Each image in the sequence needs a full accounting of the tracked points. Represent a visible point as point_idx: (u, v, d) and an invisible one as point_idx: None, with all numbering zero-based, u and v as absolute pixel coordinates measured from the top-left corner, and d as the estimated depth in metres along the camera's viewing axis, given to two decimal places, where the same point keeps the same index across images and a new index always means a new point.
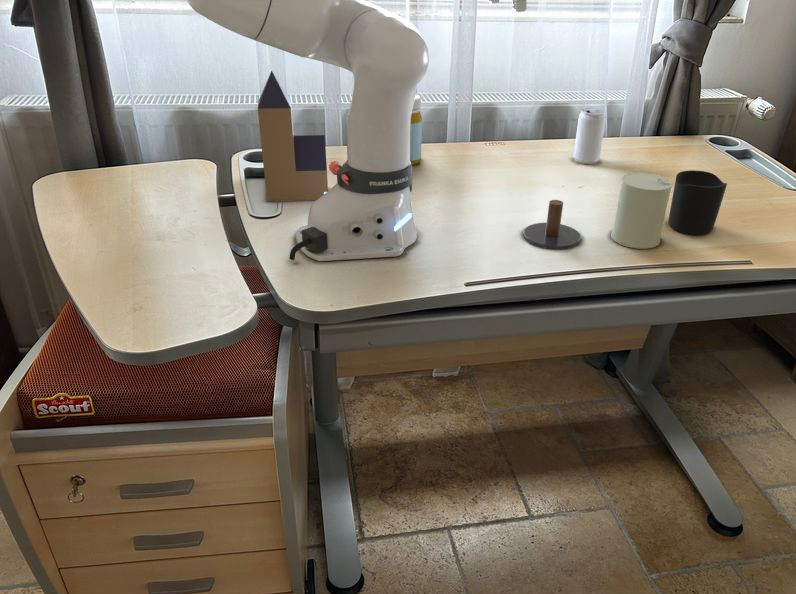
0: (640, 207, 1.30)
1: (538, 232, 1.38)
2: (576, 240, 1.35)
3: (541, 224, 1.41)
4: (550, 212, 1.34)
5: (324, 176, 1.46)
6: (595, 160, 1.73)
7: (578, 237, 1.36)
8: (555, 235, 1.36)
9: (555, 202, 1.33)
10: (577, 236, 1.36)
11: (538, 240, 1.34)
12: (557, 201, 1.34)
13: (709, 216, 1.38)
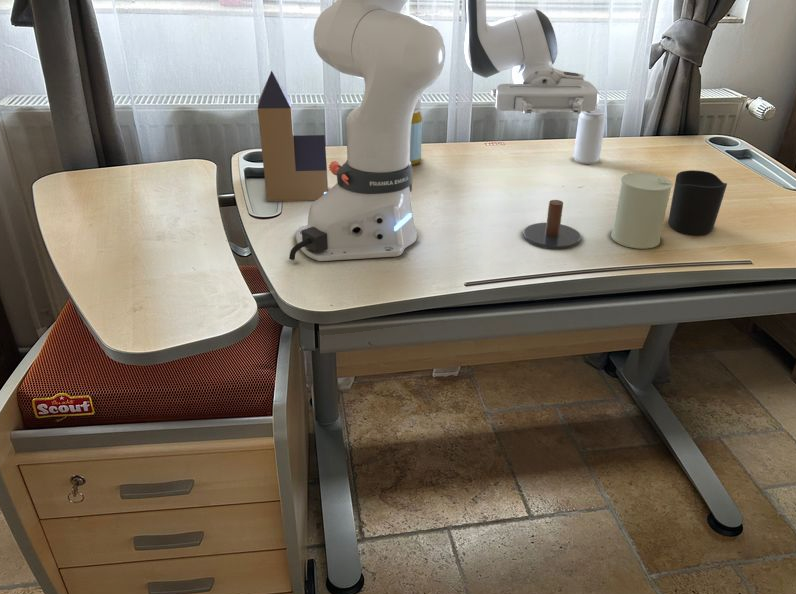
0: (640, 207, 1.30)
1: (538, 232, 1.38)
2: (576, 240, 1.35)
3: (541, 224, 1.41)
4: (550, 212, 1.34)
5: (324, 176, 1.46)
6: (595, 160, 1.73)
7: (578, 237, 1.36)
8: (555, 235, 1.36)
9: (555, 202, 1.33)
10: (577, 236, 1.36)
11: (538, 240, 1.34)
12: (557, 201, 1.34)
13: (709, 216, 1.38)
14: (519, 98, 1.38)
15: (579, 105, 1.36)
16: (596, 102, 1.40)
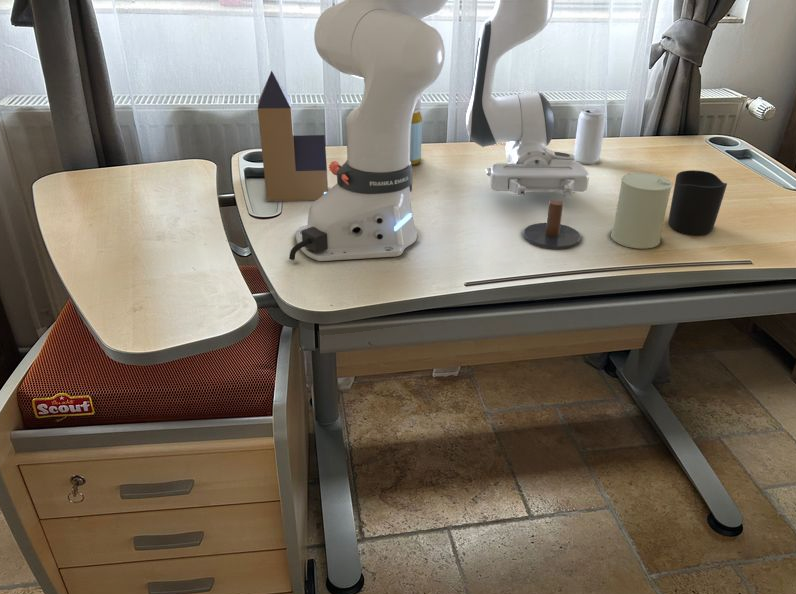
0: (640, 207, 1.30)
1: (538, 232, 1.38)
2: (576, 240, 1.35)
3: (541, 224, 1.41)
4: (550, 212, 1.34)
5: (324, 176, 1.46)
6: (595, 160, 1.73)
7: (578, 237, 1.36)
8: (555, 235, 1.36)
9: (555, 202, 1.33)
10: (577, 236, 1.36)
11: (538, 240, 1.34)
12: (557, 201, 1.34)
13: (709, 216, 1.38)
14: (513, 180, 1.44)
15: (570, 188, 1.42)
16: (586, 183, 1.47)
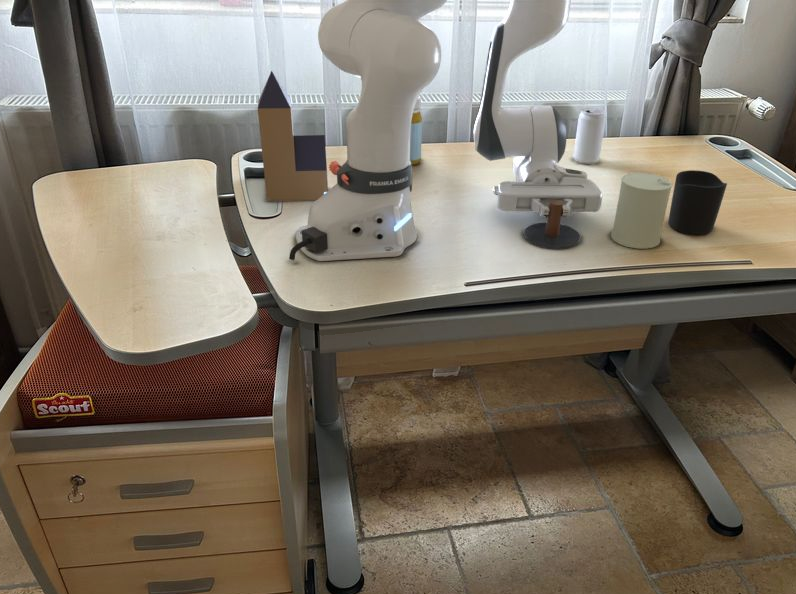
0: (640, 207, 1.30)
1: (538, 232, 1.38)
2: (576, 240, 1.35)
3: (541, 224, 1.41)
4: (550, 212, 1.34)
5: (324, 176, 1.46)
6: (595, 160, 1.73)
7: (578, 237, 1.36)
8: (555, 235, 1.36)
9: (555, 202, 1.33)
10: (577, 236, 1.36)
11: (537, 240, 1.34)
12: (557, 201, 1.34)
13: (709, 216, 1.38)
14: (536, 200, 1.36)
15: (568, 208, 1.34)
16: (599, 203, 1.38)
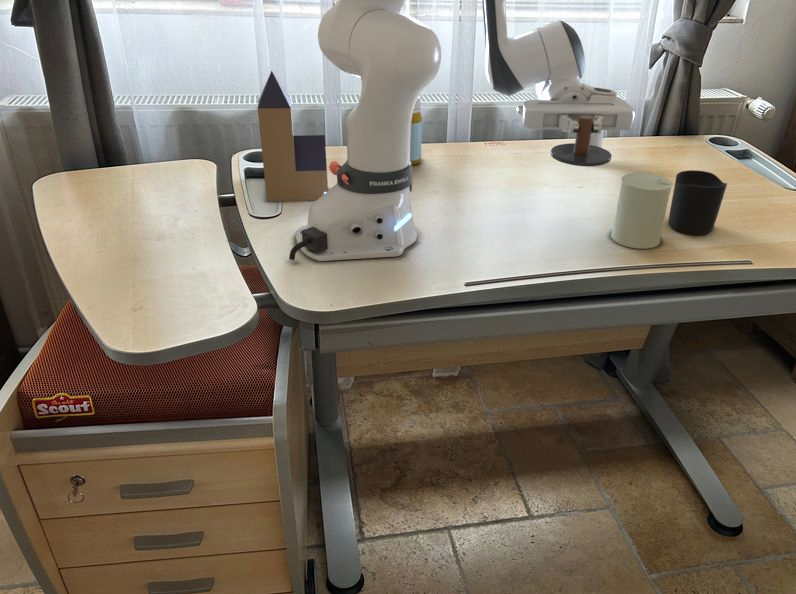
0: (640, 207, 1.30)
1: (566, 151, 1.29)
2: (607, 158, 1.26)
3: (568, 145, 1.32)
4: (579, 128, 1.25)
5: (324, 176, 1.46)
6: None
7: (609, 156, 1.27)
8: (584, 153, 1.27)
9: (585, 117, 1.25)
10: (607, 155, 1.28)
11: (566, 158, 1.26)
12: (587, 116, 1.25)
13: (709, 216, 1.38)
14: (564, 116, 1.28)
15: (599, 123, 1.25)
16: (631, 121, 1.30)
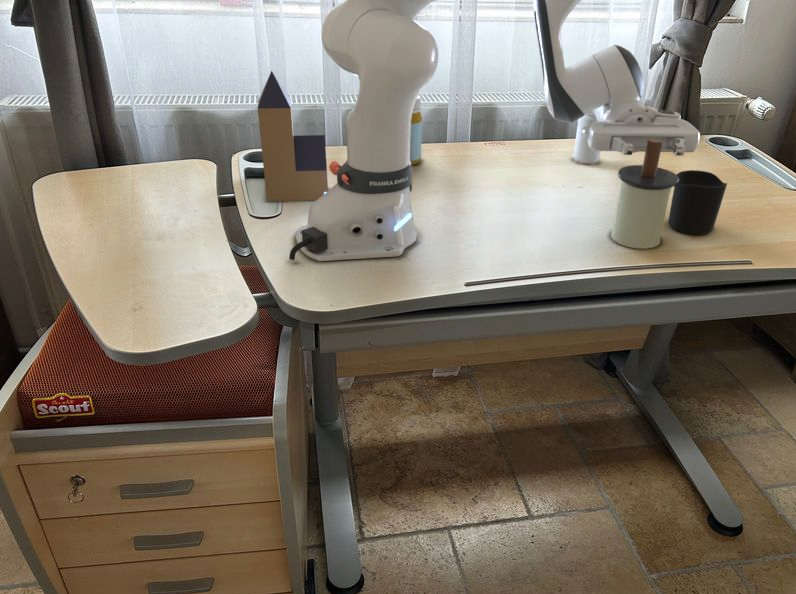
0: (640, 207, 1.30)
1: (633, 173, 1.31)
2: (675, 180, 1.29)
3: (634, 167, 1.34)
4: (648, 151, 1.28)
5: (324, 176, 1.46)
6: (595, 160, 1.73)
7: (676, 178, 1.30)
8: (652, 176, 1.30)
9: (654, 140, 1.27)
10: (674, 177, 1.30)
11: (635, 181, 1.28)
12: (656, 139, 1.28)
13: (709, 216, 1.38)
14: (617, 138, 1.30)
15: (683, 146, 1.28)
16: (697, 143, 1.32)
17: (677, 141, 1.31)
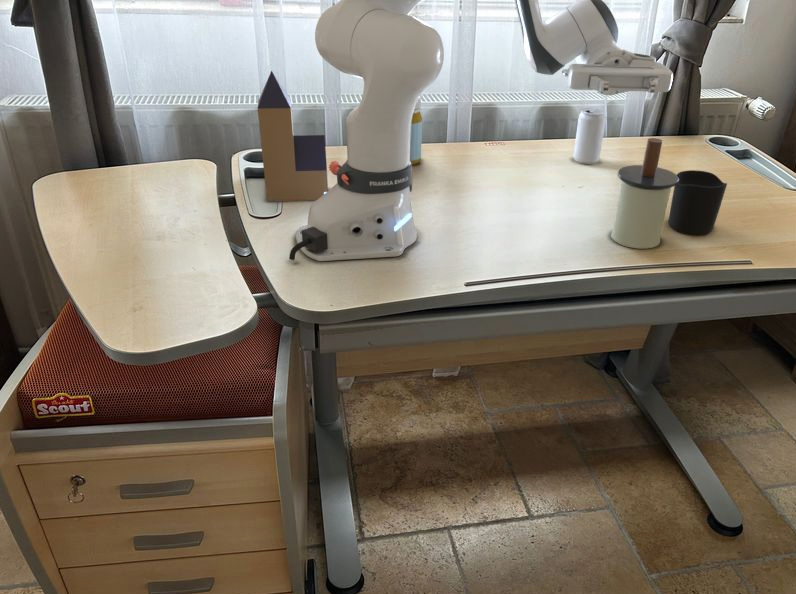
0: (640, 207, 1.30)
1: (633, 173, 1.31)
2: (675, 180, 1.29)
3: (634, 166, 1.34)
4: (648, 151, 1.28)
5: (324, 176, 1.46)
6: (595, 160, 1.73)
7: (676, 178, 1.30)
8: (652, 176, 1.30)
9: (654, 140, 1.27)
10: (674, 177, 1.30)
11: (635, 181, 1.28)
12: (656, 139, 1.28)
13: (709, 216, 1.38)
14: (594, 76, 1.37)
15: (656, 84, 1.35)
16: (670, 82, 1.40)
17: (651, 80, 1.38)
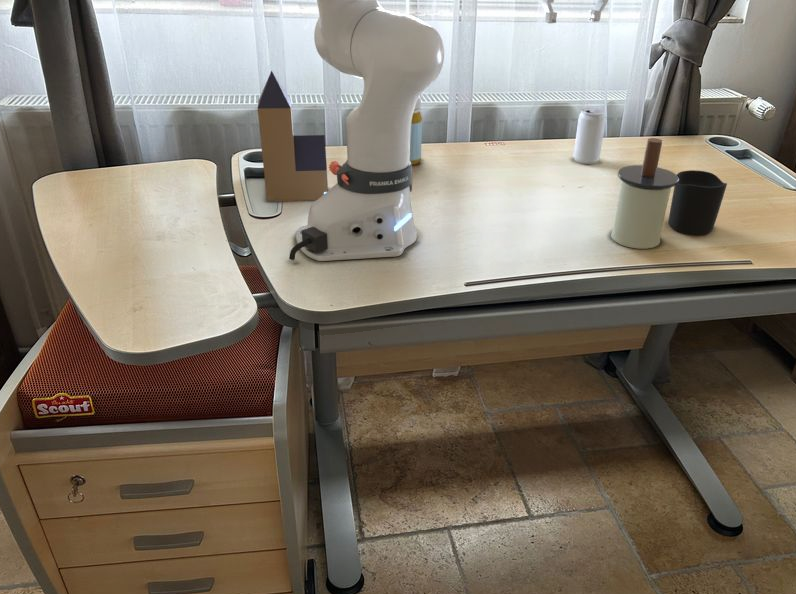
0: (640, 207, 1.30)
1: (633, 173, 1.31)
2: (675, 180, 1.29)
3: (634, 166, 1.34)
4: (648, 151, 1.28)
5: (324, 176, 1.46)
6: (595, 160, 1.73)
7: (676, 178, 1.30)
8: (652, 176, 1.30)
9: (654, 140, 1.27)
10: (674, 177, 1.30)
11: (635, 181, 1.28)
12: (656, 139, 1.28)
13: (709, 216, 1.38)
14: (550, 1, 1.28)
15: (597, 20, 1.34)
16: None
17: (601, 0, 1.32)
